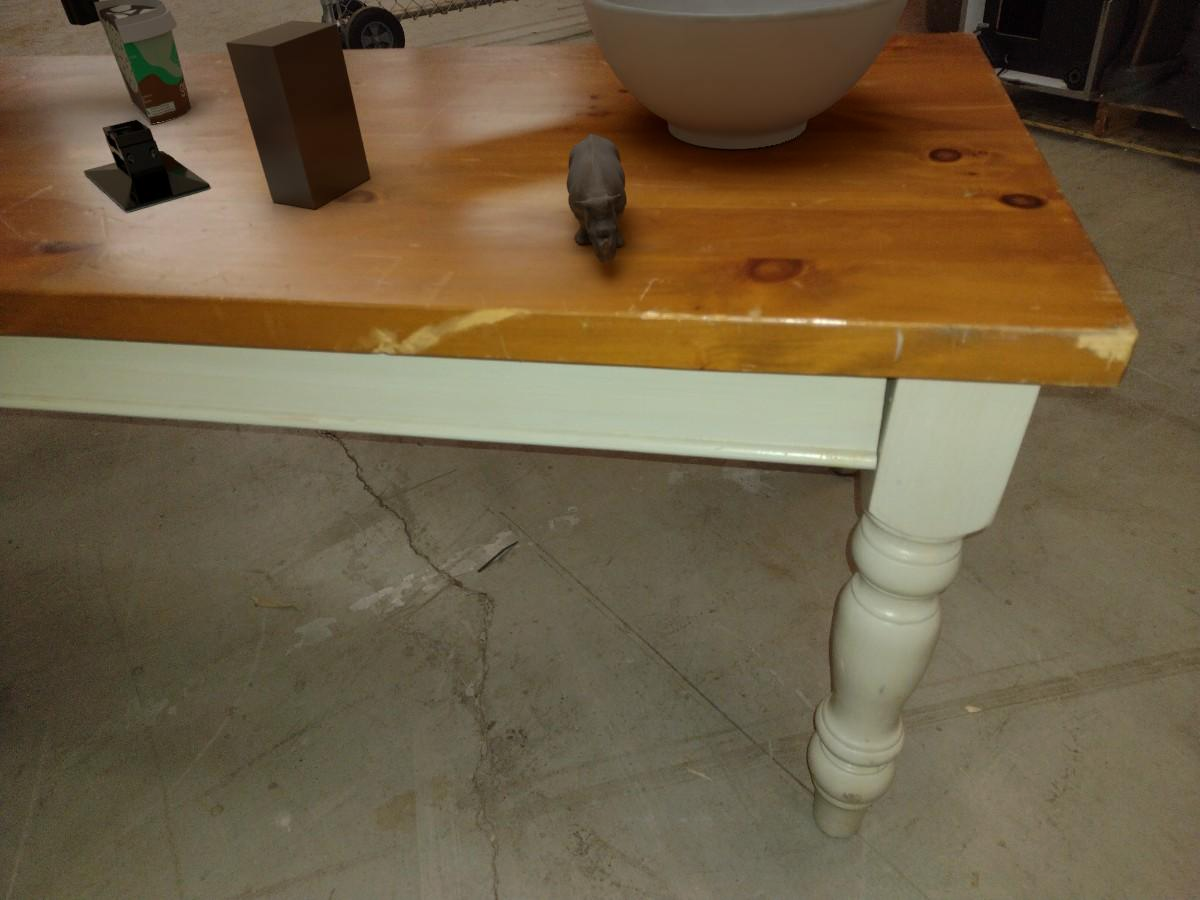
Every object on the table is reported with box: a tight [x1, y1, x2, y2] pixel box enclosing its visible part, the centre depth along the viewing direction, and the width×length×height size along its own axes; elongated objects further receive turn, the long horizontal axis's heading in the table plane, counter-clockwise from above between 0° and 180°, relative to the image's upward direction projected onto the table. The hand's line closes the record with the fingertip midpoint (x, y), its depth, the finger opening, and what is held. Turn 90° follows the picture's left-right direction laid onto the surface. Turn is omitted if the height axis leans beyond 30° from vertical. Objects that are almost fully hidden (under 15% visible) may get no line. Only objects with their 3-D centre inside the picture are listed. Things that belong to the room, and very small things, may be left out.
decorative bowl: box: [581, 0, 909, 150], centre depth 75 cm, size 27×27×12 cm
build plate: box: [83, 119, 211, 213], centre depth 74 cm, size 12×7×5 cm, turn 40°
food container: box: [94, 0, 192, 125], centre depth 90 cm, size 12×6×10 cm, turn 34°
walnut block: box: [225, 20, 371, 210], centre depth 68 cm, size 4×7×12 cm, turn 154°
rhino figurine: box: [566, 133, 628, 264], centre depth 59 cm, size 4×14×6 cm, turn 2°
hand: (88, 21), depth 91 cm, fingers closed
